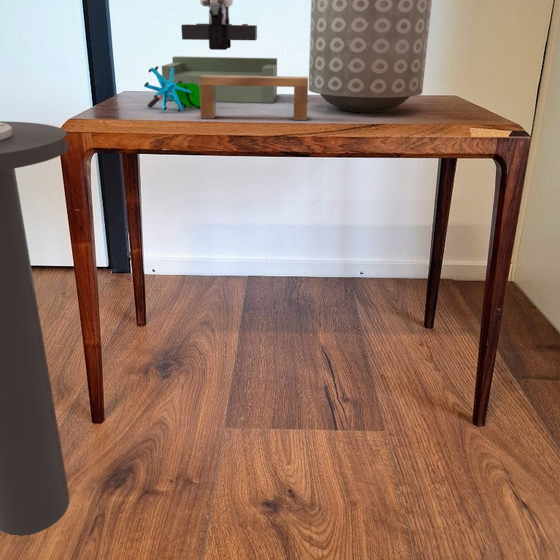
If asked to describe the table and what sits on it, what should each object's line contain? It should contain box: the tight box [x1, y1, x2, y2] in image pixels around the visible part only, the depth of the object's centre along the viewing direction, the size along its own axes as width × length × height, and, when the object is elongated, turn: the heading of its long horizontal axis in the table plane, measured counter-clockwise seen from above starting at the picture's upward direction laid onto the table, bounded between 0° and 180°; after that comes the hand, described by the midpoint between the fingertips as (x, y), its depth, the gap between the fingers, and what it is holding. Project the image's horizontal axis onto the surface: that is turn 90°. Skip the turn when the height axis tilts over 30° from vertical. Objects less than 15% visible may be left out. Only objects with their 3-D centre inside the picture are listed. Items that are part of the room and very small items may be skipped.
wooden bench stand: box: [199, 75, 309, 121], centre depth 90 cm, size 16×3×6 cm, turn 89°
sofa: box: [161, 55, 278, 104], centre depth 112 cm, size 12×20×7 cm, turn 87°
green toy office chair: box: [143, 65, 201, 113], centre depth 99 cm, size 12×7×8 cm
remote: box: [180, 23, 258, 41], centre depth 107 cm, size 13×5×3 cm, turn 89°
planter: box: [308, 0, 433, 113], centre depth 98 cm, size 19×19×18 cm
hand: (220, 47), depth 108 cm, fingers closed on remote, 5 cm apart
